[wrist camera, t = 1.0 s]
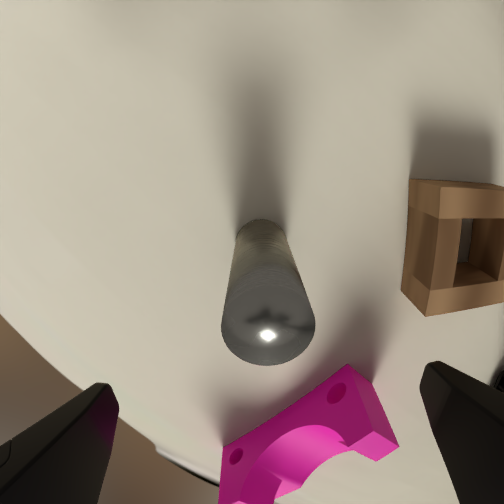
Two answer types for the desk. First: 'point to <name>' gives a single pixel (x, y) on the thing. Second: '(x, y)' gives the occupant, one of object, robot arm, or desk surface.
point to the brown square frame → (453, 246)
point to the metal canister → (265, 299)
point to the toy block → (306, 440)
